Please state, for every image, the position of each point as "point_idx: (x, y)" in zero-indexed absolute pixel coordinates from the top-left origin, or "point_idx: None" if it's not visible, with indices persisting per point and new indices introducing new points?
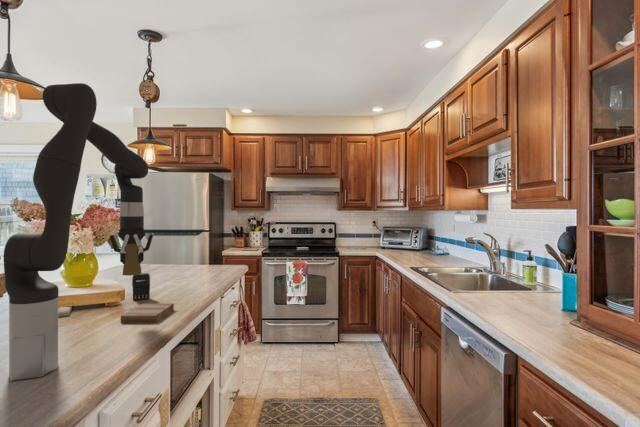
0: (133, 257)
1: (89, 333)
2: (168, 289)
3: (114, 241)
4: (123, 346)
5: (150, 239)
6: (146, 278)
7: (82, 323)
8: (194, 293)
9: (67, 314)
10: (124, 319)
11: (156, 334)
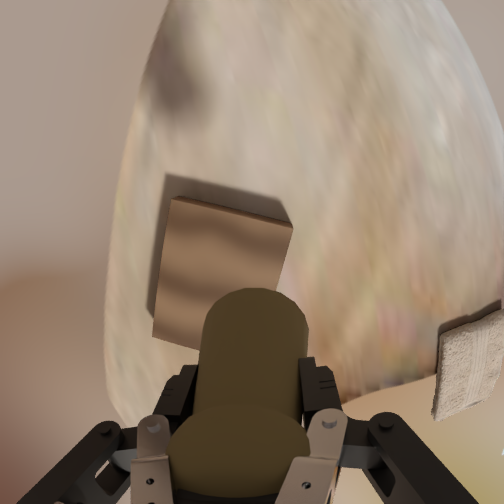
0: (222, 371)
1: (356, 135)
2: None
3: (425, 492)
4: (227, 7)
5: (45, 487)
6: None
7: (401, 249)
8: None
9: (444, 334)
10: (279, 223)
11: (157, 80)
